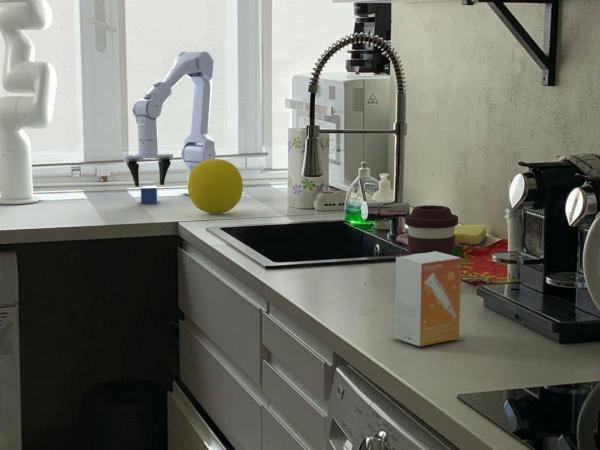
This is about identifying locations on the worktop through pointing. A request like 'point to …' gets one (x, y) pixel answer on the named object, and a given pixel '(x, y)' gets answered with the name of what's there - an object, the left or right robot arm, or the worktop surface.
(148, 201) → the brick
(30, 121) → the left robot arm
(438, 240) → the coffee cup
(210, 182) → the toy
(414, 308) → the small box
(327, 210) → the worktop surface
